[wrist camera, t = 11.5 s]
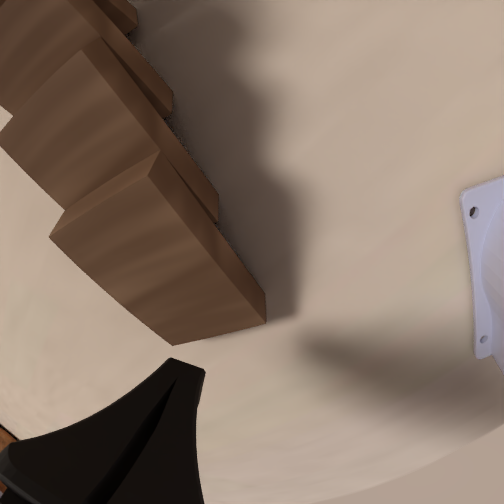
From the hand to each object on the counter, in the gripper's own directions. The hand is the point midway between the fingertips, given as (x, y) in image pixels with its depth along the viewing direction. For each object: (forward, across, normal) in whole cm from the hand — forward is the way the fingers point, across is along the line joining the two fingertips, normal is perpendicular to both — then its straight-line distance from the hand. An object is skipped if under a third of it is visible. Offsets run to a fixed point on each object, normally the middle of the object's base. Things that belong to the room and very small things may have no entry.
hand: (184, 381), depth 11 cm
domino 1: (+4, 0, 0) cm, 4 cm away
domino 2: (+4, +3, -4) cm, 6 cm away
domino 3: (+4, +6, -8) cm, 10 cm away
